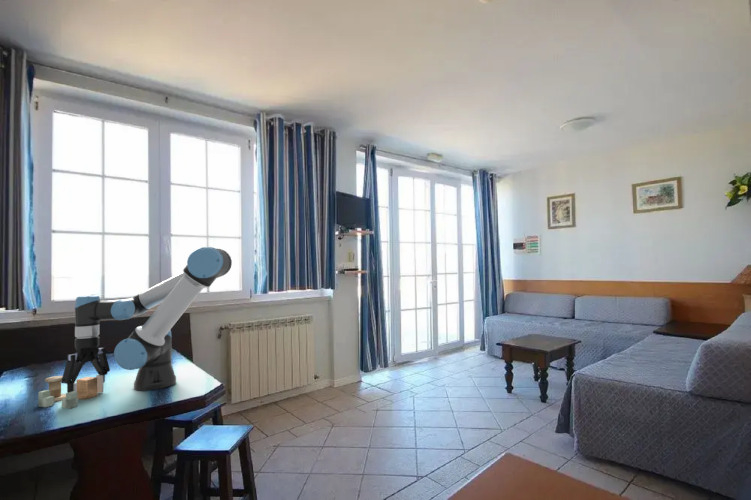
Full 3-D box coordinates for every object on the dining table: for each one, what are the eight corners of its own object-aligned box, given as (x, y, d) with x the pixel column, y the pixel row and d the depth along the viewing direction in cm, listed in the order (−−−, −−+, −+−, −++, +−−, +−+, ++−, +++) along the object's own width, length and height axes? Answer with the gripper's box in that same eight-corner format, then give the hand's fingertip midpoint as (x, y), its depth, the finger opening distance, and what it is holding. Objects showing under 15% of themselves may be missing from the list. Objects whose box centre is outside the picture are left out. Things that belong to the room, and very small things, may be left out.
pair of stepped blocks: (77, 406, 137) (77, 391, 137) (70, 408, 135) (70, 393, 135) (45, 404, 140) (45, 389, 140) (38, 406, 138) (38, 392, 138)
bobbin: (71, 397, 148) (71, 375, 148) (52, 403, 141) (52, 380, 141) (56, 396, 149) (57, 374, 150) (37, 402, 143) (37, 379, 143)
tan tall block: (97, 396, 148) (97, 377, 149) (87, 399, 144) (87, 380, 145) (86, 395, 149) (86, 376, 150) (76, 398, 146) (76, 379, 146)
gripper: (105, 332, 160) (105, 387, 159) (48, 342, 138) (47, 406, 137) (121, 332, 158) (120, 388, 157) (65, 342, 136) (64, 407, 135)
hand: (86, 396), depth 147 cm, fingers open, 10 cm apart
